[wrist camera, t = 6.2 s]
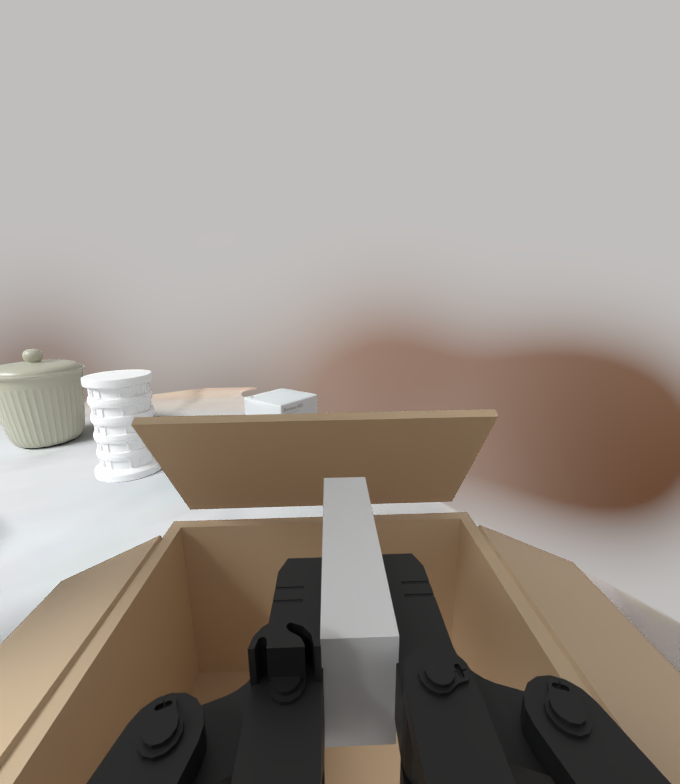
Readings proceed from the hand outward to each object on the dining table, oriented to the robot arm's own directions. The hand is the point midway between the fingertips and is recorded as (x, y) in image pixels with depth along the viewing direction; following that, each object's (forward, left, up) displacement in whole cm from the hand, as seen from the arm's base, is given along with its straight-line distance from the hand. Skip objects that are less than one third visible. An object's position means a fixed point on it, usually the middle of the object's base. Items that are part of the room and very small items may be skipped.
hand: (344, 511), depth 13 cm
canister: (-95, -5, -22) cm, 98 cm away
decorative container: (-65, +5, -22) cm, 69 cm away
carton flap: (-11, +8, -7) cm, 15 cm away
